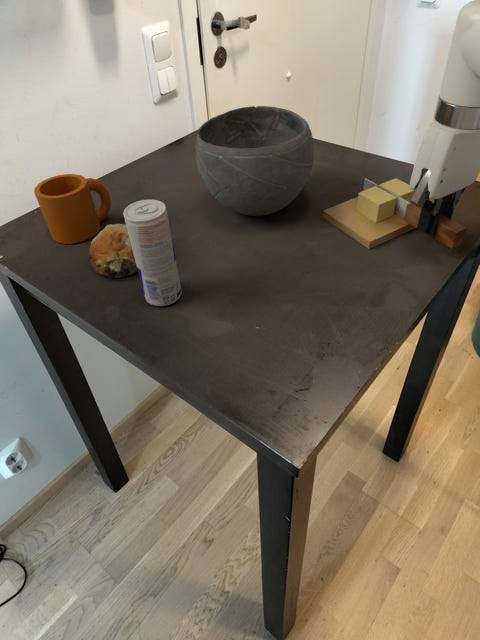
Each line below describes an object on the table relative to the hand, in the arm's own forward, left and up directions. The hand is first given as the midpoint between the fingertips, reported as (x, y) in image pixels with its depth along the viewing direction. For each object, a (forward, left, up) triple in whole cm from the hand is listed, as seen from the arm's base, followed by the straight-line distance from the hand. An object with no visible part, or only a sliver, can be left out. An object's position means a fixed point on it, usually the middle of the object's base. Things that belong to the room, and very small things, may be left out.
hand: (432, 228), depth 75 cm
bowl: (+16, -27, -3) cm, 32 cm away
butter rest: (-2, -10, -1) cm, 11 cm away
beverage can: (+42, -13, -3) cm, 44 cm away
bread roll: (+44, -25, -3) cm, 51 cm away
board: (0, -10, -3) cm, 11 cm away
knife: (0, -6, -1) cm, 6 cm away
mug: (+46, -39, -3) cm, 61 cm away
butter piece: (+2, -10, -1) cm, 11 cm away
